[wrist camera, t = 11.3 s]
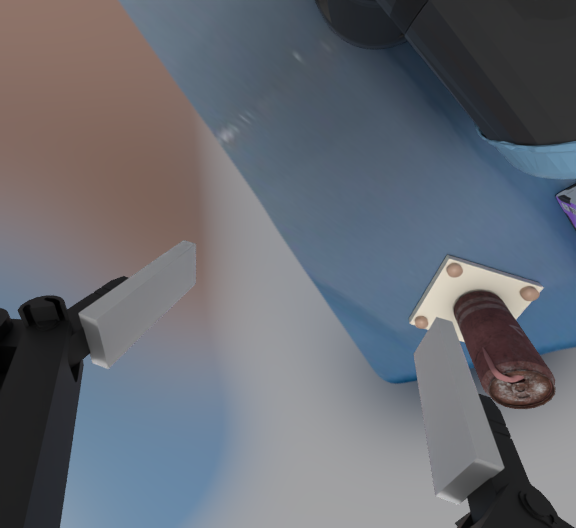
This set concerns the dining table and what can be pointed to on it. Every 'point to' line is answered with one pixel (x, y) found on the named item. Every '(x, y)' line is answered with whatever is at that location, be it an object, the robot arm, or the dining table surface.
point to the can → (502, 352)
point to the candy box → (568, 203)
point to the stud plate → (467, 278)
